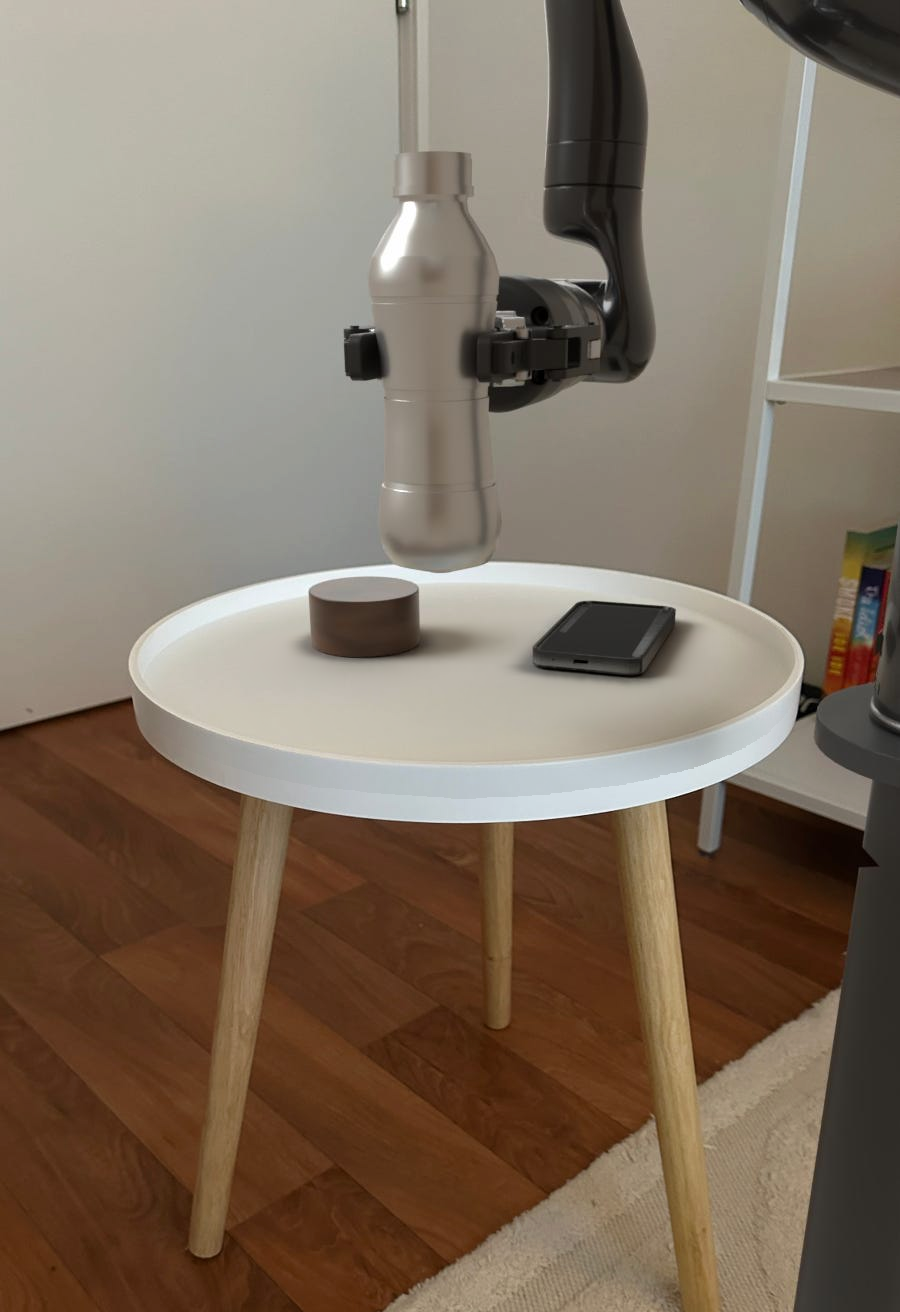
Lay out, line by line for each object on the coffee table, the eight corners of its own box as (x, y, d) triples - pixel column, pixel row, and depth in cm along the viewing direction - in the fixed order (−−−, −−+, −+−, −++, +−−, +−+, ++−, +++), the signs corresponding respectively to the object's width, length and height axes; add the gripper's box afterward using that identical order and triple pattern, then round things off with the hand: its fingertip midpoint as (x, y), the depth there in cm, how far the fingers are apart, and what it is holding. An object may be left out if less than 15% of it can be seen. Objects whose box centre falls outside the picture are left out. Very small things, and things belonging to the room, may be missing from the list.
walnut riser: (439, 635, 87) (439, 583, 85) (381, 663, 81) (380, 606, 79) (351, 623, 91) (349, 572, 89) (289, 648, 84) (285, 593, 83)
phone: (678, 606, 89) (642, 659, 76) (677, 621, 90) (641, 676, 77) (578, 599, 92) (526, 649, 79) (577, 613, 92) (526, 665, 79)
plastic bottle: (507, 582, 61) (511, 147, 53) (378, 586, 60) (362, 148, 52) (495, 555, 67) (497, 160, 58) (377, 558, 66) (362, 161, 58)
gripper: (407, 277, 72) (282, 277, 58) (636, 273, 68) (561, 272, 53) (411, 403, 75) (292, 434, 61) (630, 408, 71) (557, 442, 56)
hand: (418, 358), depth 57 cm, fingers closed on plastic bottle, 6 cm apart
